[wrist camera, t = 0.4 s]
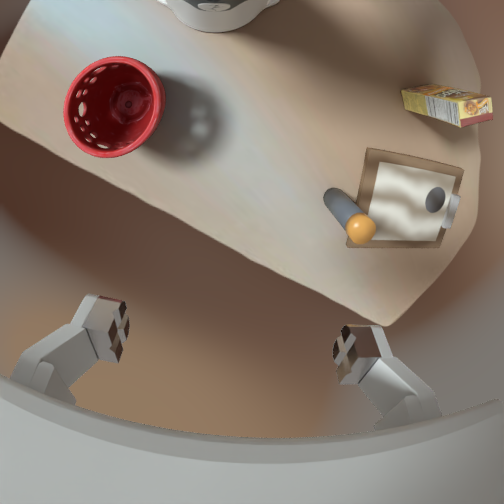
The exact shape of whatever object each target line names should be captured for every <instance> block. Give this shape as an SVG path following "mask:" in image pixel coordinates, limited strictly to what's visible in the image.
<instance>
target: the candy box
mask: <svg viewBox="0 0 504 504" xmlns="http://www.w3.org/2000/svg"><path fill="white" fill-rule="evenodd" d="M401 93H402V97H403V102H404V107H405V110H409V111H412V112H416V113H419V114H422V115H426V116H429V117H432V118H435V119H438V120H441V121H444V122H447V123H449V124H452V125H455V126H458V127H460V128H462V127H466V126H469V125H473V124H477V123H481V122H485V121H489V120H493V112H492V101H491V97H489V96H486V95H482V94H478V93H474V92H470V91H465V90H461V89H456V88H451V87H446V86H440V85H435V84H432V85H425V86H419V87H414V88H409V89H404V90H401Z"/></svg>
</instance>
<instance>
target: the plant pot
mask: <svg viewBox="0 0 504 504" xmlns="http://www.w3.org/2000/svg"><path fill="white" fill-rule="evenodd" d="M98 68H100V69H98ZM96 69H98V70H96ZM95 70H96V71H95ZM93 71H94V72H93ZM93 78H94V79H93ZM91 79H93V80H92V81H91V82H90V80H91ZM84 90H85V92H84ZM78 91H79V92H78ZM83 92H84V94H83ZM77 93H78V95H77ZM76 95H77V97H76ZM81 102H83V105H84V112H83V115H82V117H81V116H80V115H79V109H78V108H79V105H80V104H81ZM165 103H166V95H165V90H164V87H163V84H162V82H161V80H160V79H159V77H158V76H157V74H156V73H155V72H154V71H153V70H152V69H151V68H150V67H148V66H147V65H146V64H144V63H142V62H140V61H138V60H136V59H133V58H129V57H124V56H113V57H107V58H103V59H101V60H98V61H96V62H94V63H92V64H90V65H89V66H87V67H86V68H85V69H84V70H83V71H81V72H80V73H79V74H78V76H77V77H76V78H75V79H74V81H73V83H72V84H71V86H70V88H69V90H68V93H67V95H66V98H65V102H64V111H63V112H64V122H65V126H66V129H67V132H68V134H69V136H70V138H71V139H72V141H73V142H74V143H75V144H76V145H77V146H78V147H79V148H80V149H81V150H82V151H84V152H86V153H88V154H90V155H92V156H95V157H100V158H114V157H119V156H122V155H125V154H128V153H130V152H132V151H133V150H135V149H137V148H138V147H139V146H141V145H142V144H143V143H144V142H145V141H146V140H147V139H148V138H149V137H150V136H151V135H152V134H153V132H154V131H155V130H156V128H157V126H158V125H159V123H160V120H161V118H162V115H163V112H164V109H165ZM74 117H75V119H76V122H75V120H74ZM85 120H86V121H87V123H88V125H87V124H86V123H85ZM80 127H81V128H80ZM81 129H82V130H83V131H82V130H81ZM90 133H91V134H93V135H94V136H95V137H96V138H93V137H92V136H91V135H90ZM85 138H86V139H87V140H89V142H88V141H87V140H86V139H85ZM97 144H100V145H104V146H107V147H108V148H101V147H99V146H98V145H97Z"/></svg>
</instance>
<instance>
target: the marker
mask: <svg viewBox="0 0 504 504" xmlns="http://www.w3.org/2000/svg"><path fill="white" fill-rule="evenodd" d="M323 199H324V203H325V205H326V207H327V208H328V209H329V210H330V212H331V213H332V214H333V215H334V217H335V218H336V219H337V220H338V222H339V223H340V224H341V226H342V227H343V228H344V229H345V231H346V233H347V234H348V236H349V237H350V238H351V240H352V241H353V242H354V243H356V244H365V243H367V242H369V241H370V240H371V239H372V238H373V236H374V235H375V232H376V225H375V223H374V222H373V221H372V220H371V219H370V218H369V217H368V215H366V214H365V213H364V212H363V211H362V210H361V209H360V208H359V207H358V206H357V205H356V204H355V203H354V202H353V201H352V200H351V199H350V198H349V197H348V196H347V195H346V194H345V193H344V192H343V191H341V190H340V189H337V188H330V189H328V190H327V191H326V192H325V194H324V197H323Z"/></svg>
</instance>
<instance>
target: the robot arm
mask: <svg viewBox="0 0 504 504" xmlns="http://www.w3.org/2000/svg"><path fill="white" fill-rule="evenodd" d="M279 1H280V0H157V2H159V3H160V4H162V5H164V6H167V7H169V8H170V9H171V10H172V11H173V13H174V14H175V15H176V17H177V18H178V19H179V20H180V21H181V22H183V23H184V24H185V25H187V26H189V27H191V28H193V29H196V30H200V31H204V32H225V31H230V30H234V29H237V28H239V27H242V26H244V25H245V24H247V23H249V22H250V21H251V20H253V19H254V18H255V17H256V16H257V15H258V14H259V13H260V12H261V11H262V10H263V9H265V8H267V7H270V6H272V5H275V4H276V3H278V2H279ZM126 309H127V307H126V303H125V301H122V300H117V299H112V298H108V297H103V296H98V295H93V294H87V295H86V296H85V298H84V299H83V301H82V303H81V305H80V306H79V308H78V310H77V312H76V314H75V316H74V318H73V320H72V321H71V323H70V324H65V325H64V326H62V327H61V328H59V329H58V330H56V331H54V332H53V333H51V334H50V335H48V336H47V337H45V338H44V339H42V340H41V341H39V342H37V343H36V344H34V345H33V346H31V347H30V348H28V349H27V350H25V351H24V352H22V355H21V356H20V358H19V360H18V362H17V365H16V366H15V368H14V370H13V373H12V375H11V377H10V379H9V378H7V377H5V376H3V375H1V374H0V504H504V402H502V401H501V400H499V399H493V400H489V401H487V402H485V403H482V404H479V405H477V406H473V407H470V408H467V409H465V410H461V411H458V412H455V413H452V414H449V415H445V416H442V414H441V411H440V408H439V405H438V402H437V399H436V396H435V394H434V391H433V390H432V389H431V388H430V387H428V385H427V384H425V383H424V382H423V381H422V380H421V379H420V378H419V377H418V376H417V375H415V374H414V373H413V372H412V371H411V370H410V369H409V368H408V367H407V366H405V365H404V364H403V363H402V362H401V361H400V360H399V359H398V358H397V357H393V355H392V352H391V350H390V347H389V344H388V342H387V340H386V337H385V335H384V332H383V329H382V327H381V326H380V325H345V326H343V328H342V330H341V334H342V335H341V336H340V337H338V338H337V339H336V341H335V343H334V346H333V359H334V362H335V363H336V364H337V365H338V368H337V370H336V372H337V377H338V381H339V384H358V386H359V387H360V388H361V389H362V391H363V392H364V393H365V394H366V396H367V397H368V398H369V400H370V401H371V402H372V403H373V405H374V406H375V407H376V408H377V410H378V411H379V412H380V413H381V415H382V416H383V418H381V419H380V420H379V421H378V422H377V423H376V424H375V425H374V429H375V431H370V432H363V433H355V434H346V435H336V436H323V437H307V438H306V437H305V438H249V437H233V436H219V435H210V434H200V433H193V432H184V431H178V430H172V429H166V428H161V427H155V426H150V425H145V424H140V423H136V422H132V421H127V420H123V419H119V418H115V417H112V416H108V415H104V414H101V413H97V412H94V411H91V410H88V409H84V408H81V407H78V406H75V403H76V399H75V397H74V396H73V394H72V393H71V391H70V390H69V389H68V388H69V387H70V386H71V385H72V384H73V383H74V382H75V381H76V380H77V379H78V378H80V377H81V376H82V375H83V374H84V373H85V372H86V371H87V370H88V369H90V368H91V367H92V366H93V365H94V364H95V363H96V362H97V361H98V359H100V360H104V361H109V362H114V363H119V360H120V357H121V354H122V351H123V347H122V343H123V342H125V341H126V340H127V337H128V334H129V327H130V324H129V317H128V315H126V313H125V311H126Z"/></svg>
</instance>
